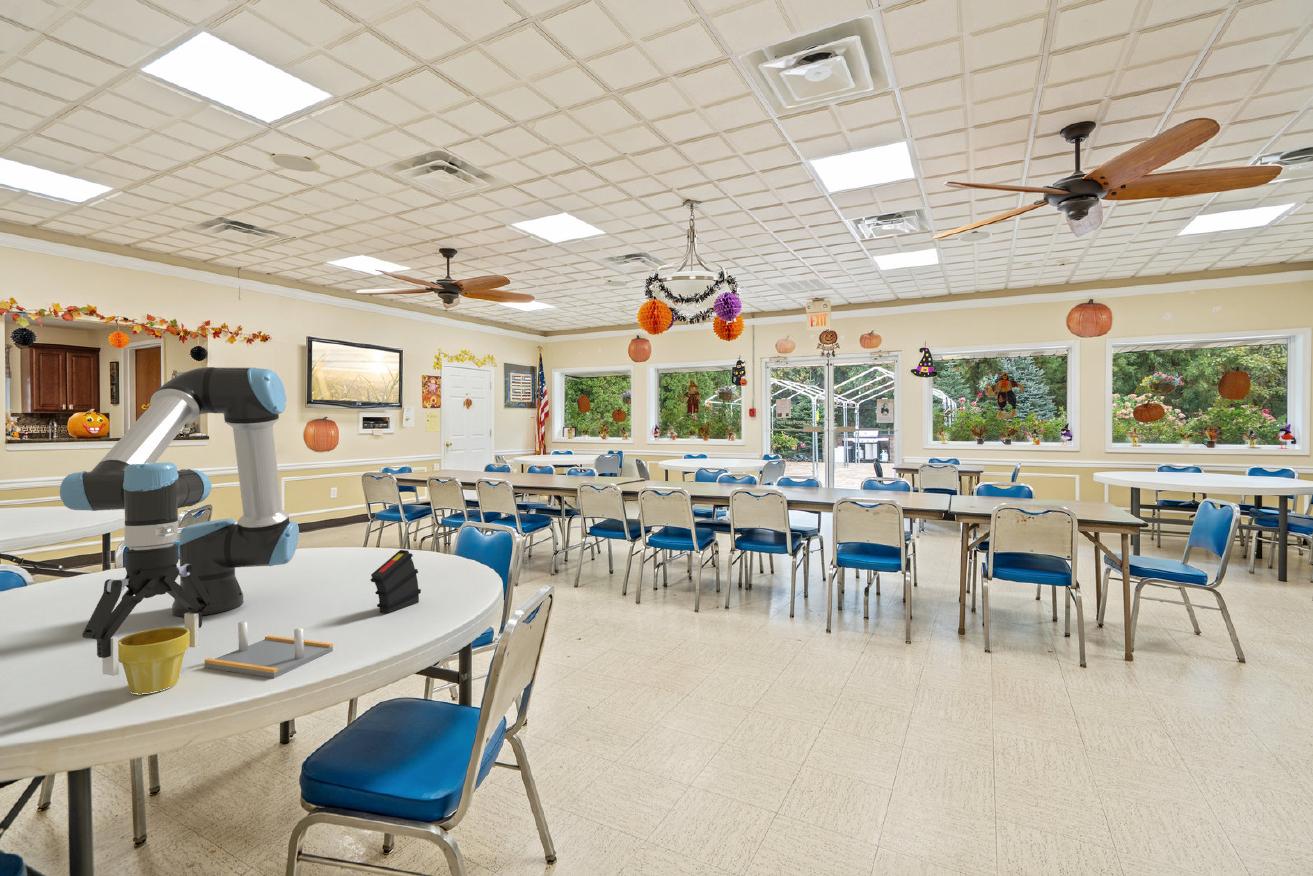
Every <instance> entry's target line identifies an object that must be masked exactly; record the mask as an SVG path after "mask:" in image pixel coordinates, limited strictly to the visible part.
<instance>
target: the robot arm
mask: <svg viewBox="0 0 1313 876" xmlns="http://www.w3.org/2000/svg"><path fill="white" fill-rule="evenodd" d="M282 381H283V380H282V379H281V377H280V376H279V375H278V374H277V373H276V372H275V370H274V371H273V370H272V369H269V368H260V367H258V368H257V367H215V366H207V367H206V366H205V367H203V366H202V367H199V368H194V369H191V370H188V371H185V372H182V373H181V374H179V375H177V376H175V377H173V378H171V379H170V380H169V381H167V382H165V383H164V384H163V385H161V386H160V387H159V388H158V389H157V390H156V391H155V392H154V393H153V394H152V396H151V397H150V401H149V402H150V406H149V407H148V408H147V409H146V410H145V411H144V412H143V413H142V414H141V415H140V417H138V419H137V420H136V421H135V422H134V423H133V424H132V426H131V427H130V428H129V429H128V430H127V431H126V432H125V433H124V434H123V436H121V437H120V439H119V440H118V441H117V442H116V444H114V445H113V447H112V448H111V449H109V450H108V452H107V453H106V454H105V456H104V457H102V459H100V461H99V462H98V463H97V464H96V465H95V466H94V468H93V469H92V470H91V471H85V470H83V471H80V472H73V473H69V474H68V475H66V476H65V477H64V478H63V479H62V481H61V484H60V487H59V497H60V500H61V501H62V503H63V505H64V506H65V507H66V508H67V509H69V510H72V511H91V512H97V511H115V510H124V542H123V543H124V546H125V547H127V549H126V550H125V551H124V568H125V571H126V576H125V577H124V578H122V579H121V578H120V579H110V578H109V579H107V580H105V581H104V585H103V592H102V595H101V597H100V599H99V601H98V603H97V605H96V607H95V608H94V610H93V612H92V614H91V616H90V617H89V618H90V619H89V620H88V622H87V624H86V626H85V628H84V629H83V632H82V636H81V637H82V638H84V639H91V640H96V656H97V657H98V658H99V659H100V658H101V659H102V675H104V676H105V675H106V676H111V677H112V676H117V675H119V663H120V662H119V661H118V641H119V637H118V636H114V635H115V633H117V631H118V630H119V628H120V627H121V626H122V624H123V623H124V622H125V621H126V619H127V618H128V617H129V615H130V614H131V612H133V610H134V609H135V608H136V606H137V605H138V604H140V603H141V602H142V601H143V600H144V599H149V598H150V599H151V598H153V597H156V596H159V595H166V593H167V594H168V595H170V596H171V597H172V598H173V599H174V601H173V602H172V605H171V606H172V607H171V609H172V610H171V611H172V612H171V613H172V615H173V616H174V617H175V616H176V617H183V618H184V625H183V626H184V628H187V629H189V631H190V644H189V648H194V649H195V648H198V647H200V645H199V644H200V640H199V639H200V637H199V636H200V634H199V631H200V630H199V629H200V628H202V626H203V616H208V615H214V614H218V613H223V612H226V611H230V610H233V609H236V608H238V607H241V606H242V605H243V604H244V602H245V601H244V593H243V590H242V588H241V586H240V584H239V582H238V579H237V576H236V568H249V567H250V568H253V567H274V566H281V565H287V564H288V563H289V562H290V561H291V560H292V559H293V557H294V556H295V554H296V551H297V548H298V543H299V537H300V528H299V525H298V522H296V521H293V520H291V521H290V515H289V512H287V511H285V510H283V508H282V500H281V491H280V481H279V473H278V472H279V471H278V463H277V454H276V453H277V452H276V444H275V434H274V424H276V423H277V422H278V421H279V419H280V418H279V417H280V414H282V413H284V411H285V410H286V407H287V403H286V402H287V395H286V390H285V385H284V384H283V382H282ZM206 414H223V419H224V423H225V424H227V425H228V426H230V427H231V428H232V431H233V433H232V434H233V439H234V440H233V441H234V448H235V458H236V467H237V472H238V473H237V474H238V479H239V480H238V481H239V482H238V483H239V490H240V498H241V506H242V513H243V514H242V516H240V517H239V519H237V521H235V520H234V518H222V519H215V520H210V521H203V522H199V523H194V524H190V525H187V526H185V527H183V528H182V529H181V530H180V532H179V531H178V530H179V524H178V523H179V521H178V520H179V516H178V515H179V511H178V510H179V509H181V508H182V509H183V508H186V507H193V506H195V505H197V504H199V503H202V502H204V501H205V500H206V499H207V498H208V497H209V495H210V494H211V492H212V482H211V479H210V478H209V476H208V475H207V474H206V473H205V472H203V471H200V470H198V469H190V468H187V469H183V468H182V469H179V470H178V467H177V465H176V464H175V463H173V462H157V461H158V460H159V458H160V457H161V456H162V455H163V453H164V452H165V451H166V449H168V447H169V446H170V444H172V441H173V440H175V439H176V437H177V435H178V434H179V433H180V432H181V430H182V429H183V428H184V427H185V425H186V424H187V423H192V422H193V421H195V420H196V419H197V418H198V416H201V415H206ZM236 522H237V524H236ZM178 541H179V543H178V545H177V544H176V542H178ZM178 563H179V566H178ZM178 577H179V578H180V580H179V581H180V584H179V583H178V582H176V580H177V579H178ZM125 587H126V588H127V589H126V591H125V592H124V593H123V595H122V597H121V600H120V601H119V599H120V596H121V594H122V592H123V591H124V590H125ZM118 601H119V603H118V604H117V602H118ZM116 605H117V606H116Z"/></svg>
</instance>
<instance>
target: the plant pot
mask: <svg viewBox="0 0 1313 876" xmlns="http://www.w3.org/2000/svg"><path fill="white" fill-rule="evenodd" d="M189 644H190V631H189V629H187V628H185V626H169V627H167V626H166V627H157V628H152V629H146V630H143V631H138V632H134V633H132V634H131V633H130V634H129V635H126V636H124V637H121V638H120V639H118V663H120V664H122V667H123V670H124V673H125V677H126V681H127V685H128V689H129V692H130V691H131V692H132V693H138V694H142V693H150V692H154V691H160V690H163V689H166V688H168V687H171V688H173V687H175V686H176V685H177V684H178V681H179V677H180V673H181V668H182V666H183V661H184V657H185V653H186V651H188V649H189V648H190V647H189ZM176 683H177V684H176ZM175 684H176V685H175ZM174 685H175V686H174ZM172 686H173V687H172ZM131 692H130V693H131ZM132 693H131V694H132Z"/></svg>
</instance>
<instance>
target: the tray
mask: <svg viewBox="0 0 1313 876" xmlns="http://www.w3.org/2000/svg"><path fill="white" fill-rule="evenodd" d="M237 624H238V625H237V627H238V628H237V629H238V633H237V634H238V637H237V638H238V649H236V650H234V651H231V652H229V653H225V654H224V655H220V656H218V657H216V658H205V659H204V661H203V662H204V669H210V670H211V669H212V670H219V671H224V672H231V673H238V674H245V675H250V676H251V675H252V676H260V677H264V678H271V679H275V678H277V677H280V676H281V675H284V674H286V673H288V672H290V671H292V670H294V669H297V668H299V667H301V666H303V665H305V664H307V663H310V662H312V661H314V660H317V659H318V658H321V657H323V656H325V655H327V654H329V653H331V652H332V651H334V645H333V644H334V643H332V642H323V641H316V640H307V639H304V638H305V637H304V628H303V627H298V628H294V631H293V635H294V636H293V637H294V638H292V637H284V636H283V637H282V636H275V635H265V636H264V639H263V640H259V641H257V642H254V643H252V644H249V639H248V637H249V634H248V633H249V632H248V631H249V630H248V621H246V620H245V621H240V622H238V623H237Z"/></svg>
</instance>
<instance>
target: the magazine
mask: <svg viewBox="0 0 1313 876" xmlns="http://www.w3.org/2000/svg"><path fill="white" fill-rule="evenodd" d="M413 557H414V556H413V553H412V552H411V553H410V552H409V550H407V549H406V550H405V549H399V551H397V552H396V553H395V554H394V555H393V556H392V555H391V557H390V558H389V559H387V561H385V562H384V563H383V564H382V565H381V566H379V567H378V568H377V569H376V570H375V571H374V572H372V573H371V574H370V575H371V578H370V582H371V583H374V584H375V587H376V591H375V595H378V601H379V602H378V603H377V604H376V607H377V608H379V613H383V614H390V613H393V612H396V611H398V610H402V609H404V608H406V607H409V606H412V605H415V604H419V602H420V598H419V597H420V596H419V595H420V594H421V593H422V589H421V588H419V582H418V576H417V574H418V573H419V571H418V568H416V567H415V564H414V560H413V559H412V558H413Z"/></svg>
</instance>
